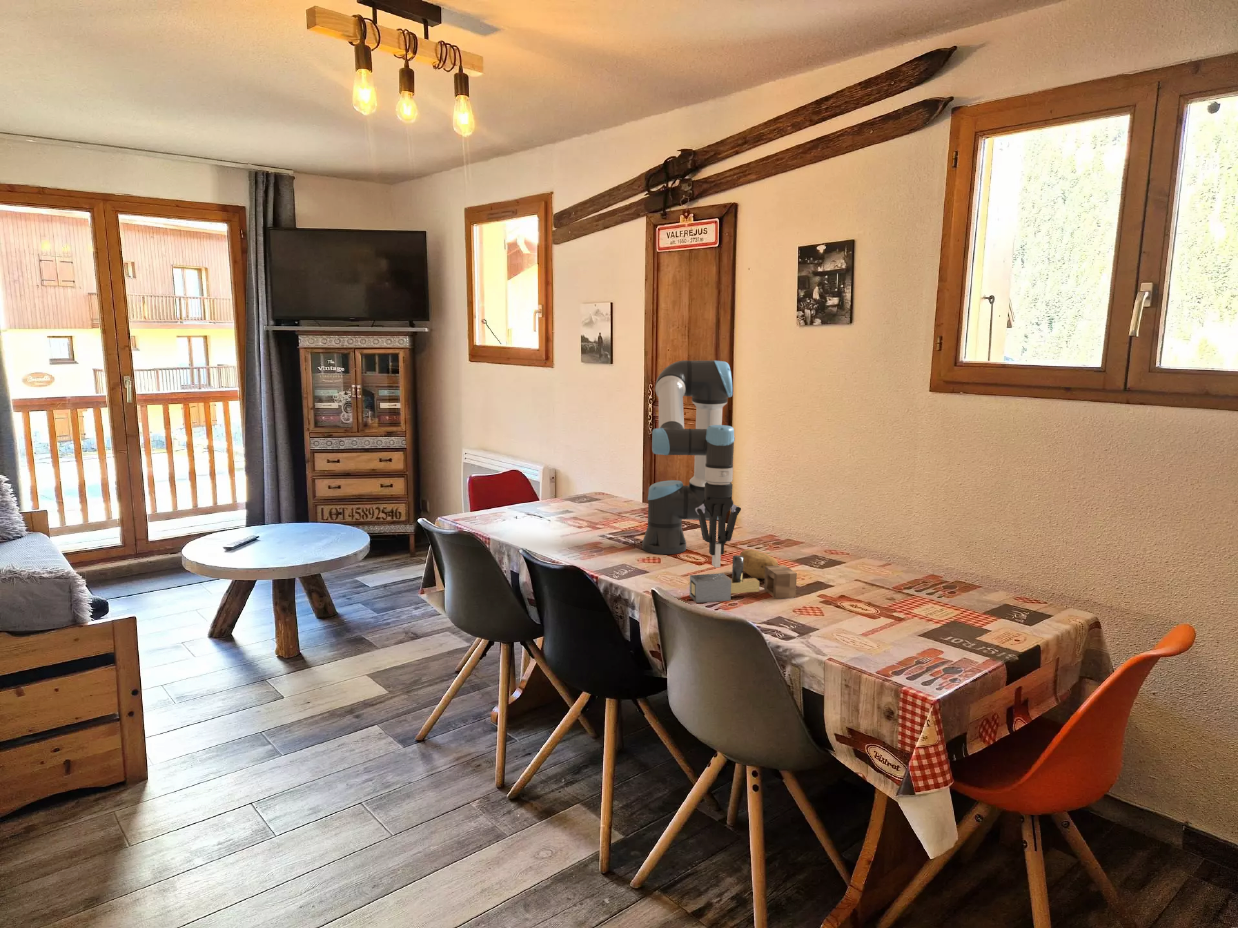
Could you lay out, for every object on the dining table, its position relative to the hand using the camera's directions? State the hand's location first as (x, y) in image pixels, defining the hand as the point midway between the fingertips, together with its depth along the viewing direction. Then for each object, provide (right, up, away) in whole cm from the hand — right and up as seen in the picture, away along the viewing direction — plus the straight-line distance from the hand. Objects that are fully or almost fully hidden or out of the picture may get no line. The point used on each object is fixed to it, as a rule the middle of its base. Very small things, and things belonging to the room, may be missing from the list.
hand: (716, 565), depth 214 cm
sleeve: (-2, -9, +1) cm, 9 cm away
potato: (+15, -7, +21) cm, 27 cm away
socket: (+19, -9, +6) cm, 22 cm away
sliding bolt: (+3, -8, +2) cm, 8 cm away
